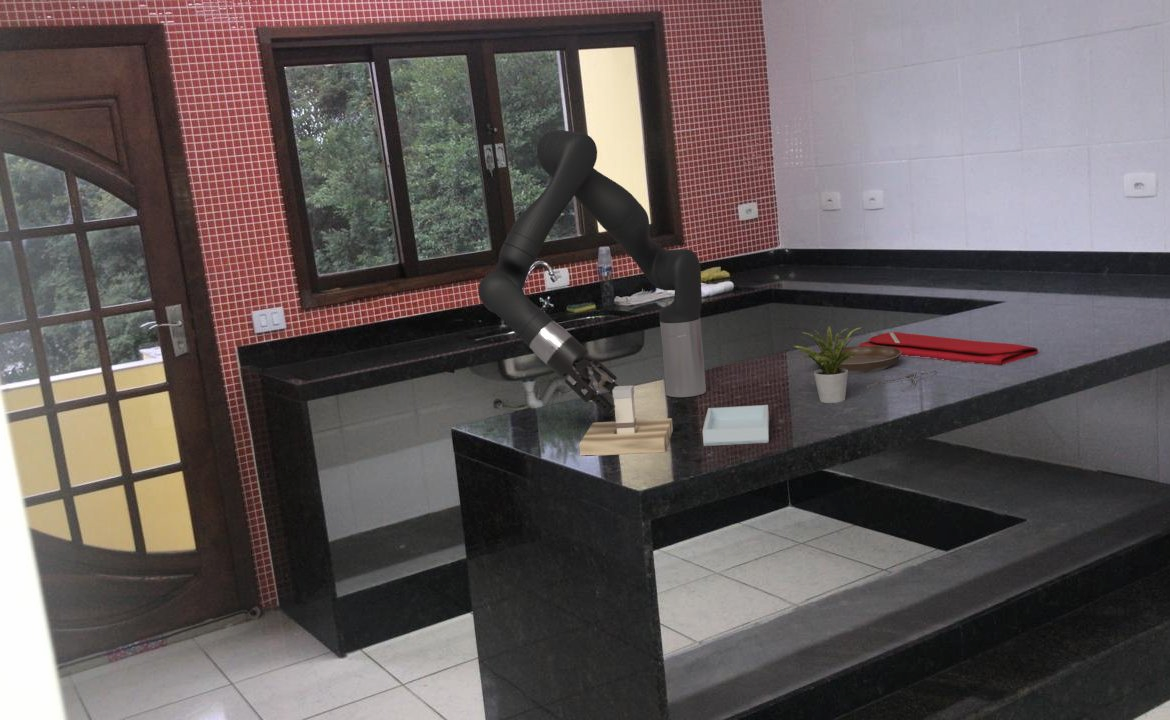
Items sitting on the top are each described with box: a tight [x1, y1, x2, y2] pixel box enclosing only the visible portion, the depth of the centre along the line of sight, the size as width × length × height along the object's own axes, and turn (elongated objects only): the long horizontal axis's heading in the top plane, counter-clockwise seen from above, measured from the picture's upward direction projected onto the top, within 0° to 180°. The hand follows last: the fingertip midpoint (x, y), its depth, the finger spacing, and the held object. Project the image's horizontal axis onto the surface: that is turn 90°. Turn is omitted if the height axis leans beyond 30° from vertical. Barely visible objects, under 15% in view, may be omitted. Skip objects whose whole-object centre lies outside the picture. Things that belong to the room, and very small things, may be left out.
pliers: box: [866, 369, 937, 392], centre depth 238 cm, size 10×1×20 cm
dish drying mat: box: [858, 331, 1039, 366], centre depth 264 cm, size 16×41×4 cm, turn 36°
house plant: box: [793, 325, 863, 404], centre depth 226 cm, size 14×14×16 cm
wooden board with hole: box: [578, 417, 674, 456], centre depth 207 cm, size 16×16×2 cm
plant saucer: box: [817, 345, 901, 374], centre depth 258 cm, size 21×21×3 cm
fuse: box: [612, 385, 637, 434], centre depth 207 cm, size 4×4×11 cm
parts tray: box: [702, 404, 770, 447], centre depth 207 cm, size 18×12×3 cm, turn 170°
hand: (619, 405), depth 207 cm, fingers open, 8 cm apart
